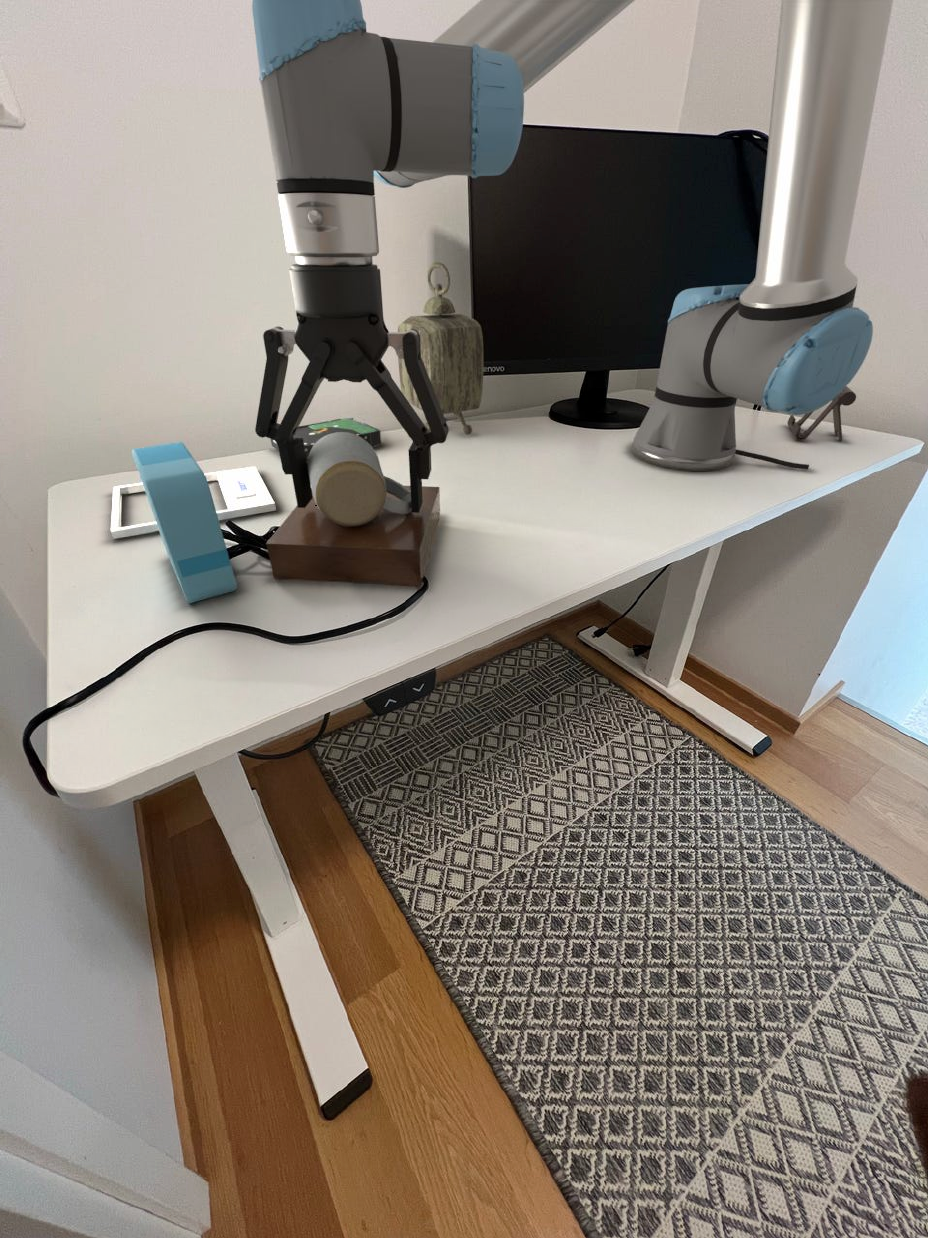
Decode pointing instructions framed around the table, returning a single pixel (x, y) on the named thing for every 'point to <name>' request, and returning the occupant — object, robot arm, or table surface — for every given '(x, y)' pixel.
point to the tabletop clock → (447, 354)
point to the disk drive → (324, 428)
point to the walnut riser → (356, 545)
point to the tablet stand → (842, 399)
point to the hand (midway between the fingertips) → (360, 505)
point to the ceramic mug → (352, 481)
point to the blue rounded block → (186, 520)
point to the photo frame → (241, 498)
